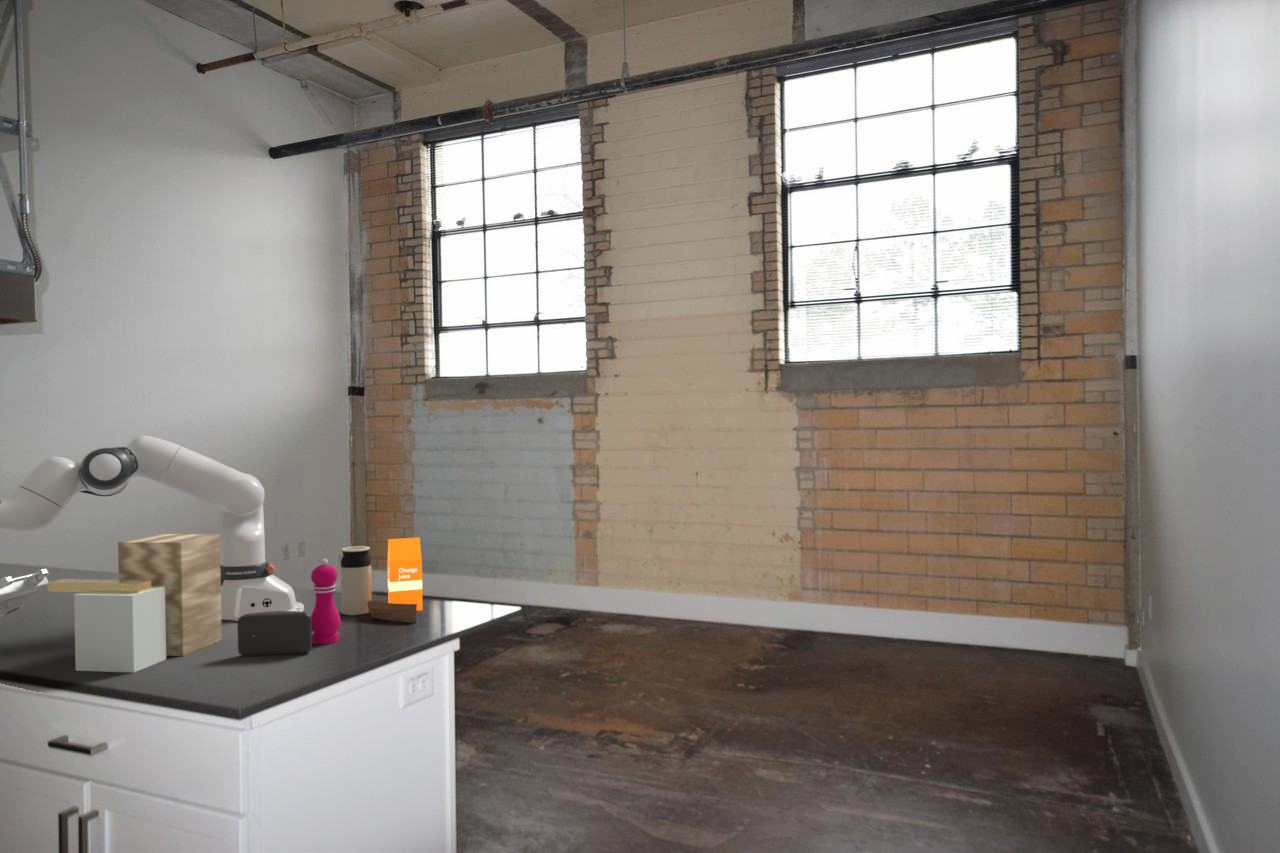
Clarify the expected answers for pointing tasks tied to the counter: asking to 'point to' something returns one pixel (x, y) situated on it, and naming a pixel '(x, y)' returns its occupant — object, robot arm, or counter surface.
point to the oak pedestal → (180, 584)
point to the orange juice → (405, 572)
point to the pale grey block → (119, 630)
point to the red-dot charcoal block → (274, 633)
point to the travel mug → (355, 580)
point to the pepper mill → (324, 605)
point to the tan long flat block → (99, 585)
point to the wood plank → (393, 611)
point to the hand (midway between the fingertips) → (27, 575)
